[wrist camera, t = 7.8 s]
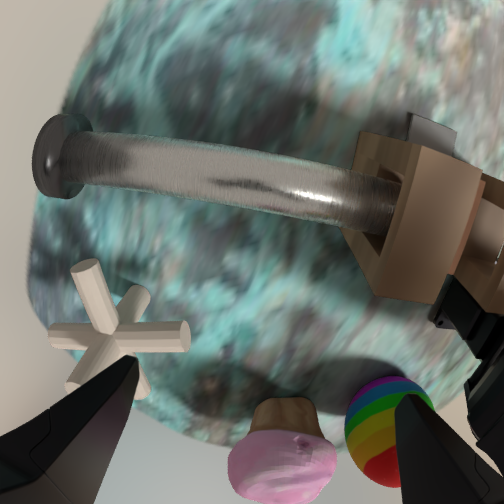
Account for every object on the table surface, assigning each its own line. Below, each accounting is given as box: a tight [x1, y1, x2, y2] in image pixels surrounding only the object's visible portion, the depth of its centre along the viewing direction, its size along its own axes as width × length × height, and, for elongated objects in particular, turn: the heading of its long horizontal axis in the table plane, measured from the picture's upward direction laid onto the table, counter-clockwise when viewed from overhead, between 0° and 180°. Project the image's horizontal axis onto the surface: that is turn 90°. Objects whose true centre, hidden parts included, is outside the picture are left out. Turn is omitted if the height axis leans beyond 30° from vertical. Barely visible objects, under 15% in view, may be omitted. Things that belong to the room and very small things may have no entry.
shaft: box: [32, 114, 402, 237], centre depth 13 cm, size 17×4×4 cm, turn 80°
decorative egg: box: [344, 376, 435, 488], centre depth 21 cm, size 8×8×10 cm
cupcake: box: [228, 397, 337, 504], centre depth 22 cm, size 9×9×10 cm
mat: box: [406, 114, 457, 157], centre depth 18 cm, size 3×10×1 cm, turn 170°
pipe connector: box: [48, 258, 191, 400], centre depth 18 cm, size 10×10×10 cm
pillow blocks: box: [338, 131, 504, 314], centre depth 14 cm, size 10×6×8 cm, turn 80°
